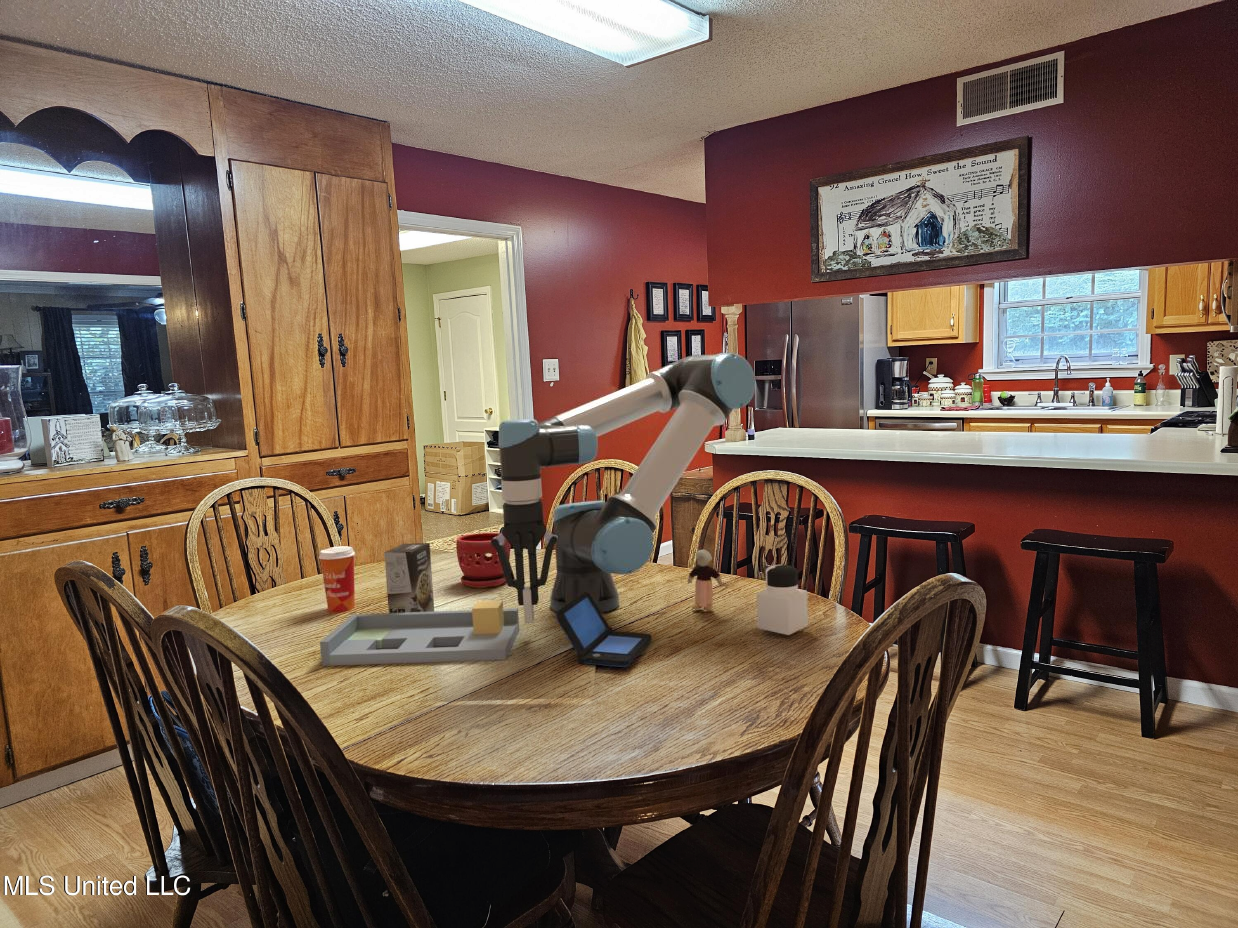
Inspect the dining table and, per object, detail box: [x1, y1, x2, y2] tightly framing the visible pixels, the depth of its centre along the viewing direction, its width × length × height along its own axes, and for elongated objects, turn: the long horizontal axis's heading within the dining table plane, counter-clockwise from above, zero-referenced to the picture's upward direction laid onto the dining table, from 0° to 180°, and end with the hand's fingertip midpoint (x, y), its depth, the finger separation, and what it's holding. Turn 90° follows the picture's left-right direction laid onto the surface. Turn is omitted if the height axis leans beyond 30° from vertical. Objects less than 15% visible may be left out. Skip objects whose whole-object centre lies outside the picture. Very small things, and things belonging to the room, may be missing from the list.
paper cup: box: [318, 545, 356, 613], centre depth 180 cm, size 8×8×14 cm
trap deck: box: [319, 608, 520, 667], centre depth 153 cm, size 34×16×4 cm, turn 88°
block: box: [471, 599, 504, 634], centre depth 155 cm, size 5×5×5 cm
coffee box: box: [384, 542, 435, 613], centre depth 169 cm, size 9×6×16 cm
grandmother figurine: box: [686, 549, 724, 611], centre depth 169 cm, size 8×4×13 cm, turn 76°
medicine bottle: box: [756, 564, 809, 636], centre depth 155 cm, size 7×7×12 cm
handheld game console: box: [555, 592, 653, 668], centre depth 146 cm, size 16×13×9 cm
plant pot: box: [455, 532, 511, 589], centre depth 198 cm, size 13×13×12 cm
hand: (529, 620), depth 155 cm, fingers closed
